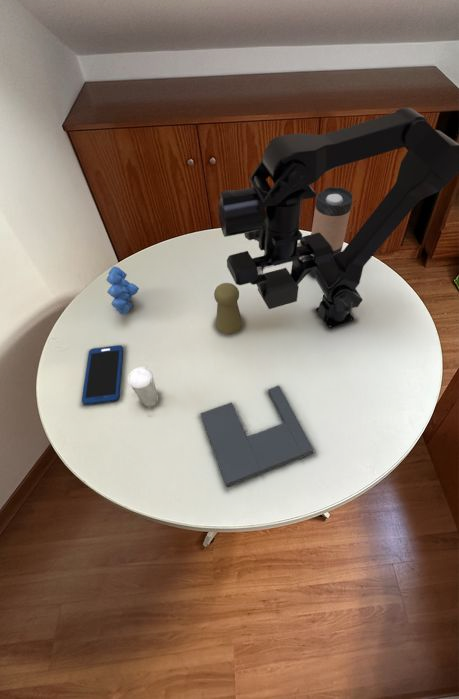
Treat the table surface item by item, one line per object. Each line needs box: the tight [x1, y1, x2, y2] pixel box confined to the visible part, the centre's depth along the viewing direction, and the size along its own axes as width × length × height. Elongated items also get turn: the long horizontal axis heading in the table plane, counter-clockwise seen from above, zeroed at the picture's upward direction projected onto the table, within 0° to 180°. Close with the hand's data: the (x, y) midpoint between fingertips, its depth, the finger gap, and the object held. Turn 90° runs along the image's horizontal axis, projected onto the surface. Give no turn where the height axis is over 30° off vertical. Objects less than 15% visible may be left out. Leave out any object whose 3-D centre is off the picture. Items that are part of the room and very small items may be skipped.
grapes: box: [106, 266, 140, 316], centre depth 84 cm, size 12×7×12 cm, turn 8°
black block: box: [257, 267, 300, 310], centre depth 73 cm, size 6×6×4 cm
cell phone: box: [81, 344, 124, 406], centre depth 77 cm, size 7×14×1 cm, turn 7°
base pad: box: [200, 385, 314, 488], centre depth 66 cm, size 16×14×2 cm
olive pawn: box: [213, 282, 243, 335], centre depth 79 cm, size 6×6×11 cm
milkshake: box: [127, 366, 160, 408], centre depth 68 cm, size 4×5×10 cm
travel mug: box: [308, 186, 354, 279], centre depth 85 cm, size 8×8×20 cm
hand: (277, 292), depth 73 cm, fingers closed on black block, 6 cm apart
